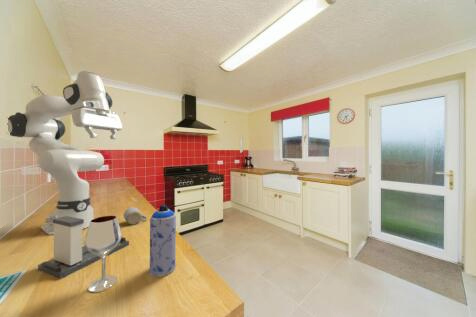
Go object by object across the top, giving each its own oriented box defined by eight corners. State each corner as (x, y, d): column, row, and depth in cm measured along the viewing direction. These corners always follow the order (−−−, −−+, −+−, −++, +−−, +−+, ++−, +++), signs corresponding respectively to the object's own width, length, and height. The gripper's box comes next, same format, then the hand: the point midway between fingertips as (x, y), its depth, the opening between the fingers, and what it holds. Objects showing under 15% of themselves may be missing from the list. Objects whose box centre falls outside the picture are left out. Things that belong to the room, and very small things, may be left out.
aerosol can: (150, 264, 56) (150, 203, 56) (175, 259, 59) (176, 201, 59) (147, 280, 49) (147, 210, 49) (176, 273, 52) (176, 207, 52)
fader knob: (52, 259, 55) (52, 219, 55) (66, 254, 59) (66, 215, 59) (70, 266, 52) (70, 223, 52) (83, 260, 55) (83, 219, 55)
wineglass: (98, 274, 51) (99, 214, 51) (127, 273, 52) (127, 213, 52) (74, 296, 43) (75, 225, 43) (109, 294, 44) (109, 224, 44)
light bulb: (126, 226, 87) (126, 211, 87) (123, 222, 93) (123, 208, 93) (148, 222, 94) (149, 208, 94) (144, 218, 100) (145, 205, 100)
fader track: (37, 269, 53) (37, 261, 53) (108, 239, 73) (108, 234, 73) (60, 279, 49) (60, 270, 49) (129, 244, 69) (129, 238, 69)
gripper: (112, 114, 88) (118, 140, 88) (65, 104, 68) (73, 139, 68) (122, 111, 87) (128, 138, 87) (78, 100, 67) (86, 135, 67)
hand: (104, 138), depth 78 cm, fingers open, 8 cm apart
